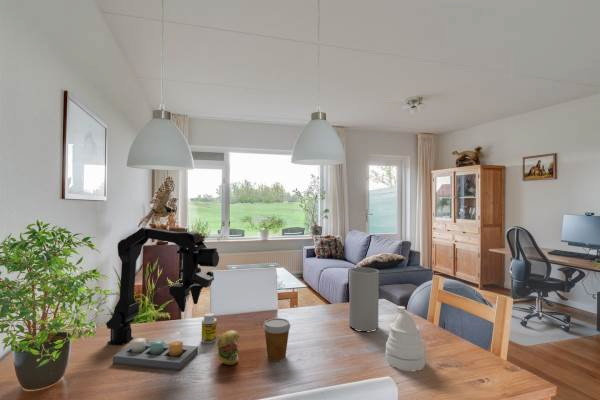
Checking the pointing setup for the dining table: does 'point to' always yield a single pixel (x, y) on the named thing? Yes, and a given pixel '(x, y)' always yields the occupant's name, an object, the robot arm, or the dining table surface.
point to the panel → (156, 358)
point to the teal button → (156, 347)
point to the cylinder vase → (364, 298)
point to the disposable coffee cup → (276, 338)
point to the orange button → (175, 348)
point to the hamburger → (228, 347)
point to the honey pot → (405, 343)
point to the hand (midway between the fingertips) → (189, 307)
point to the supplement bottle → (209, 328)
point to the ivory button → (138, 345)
